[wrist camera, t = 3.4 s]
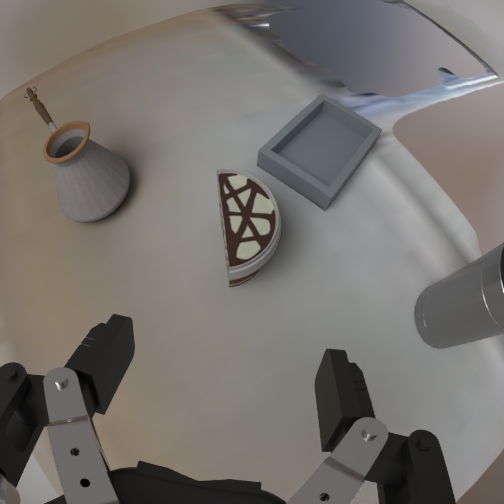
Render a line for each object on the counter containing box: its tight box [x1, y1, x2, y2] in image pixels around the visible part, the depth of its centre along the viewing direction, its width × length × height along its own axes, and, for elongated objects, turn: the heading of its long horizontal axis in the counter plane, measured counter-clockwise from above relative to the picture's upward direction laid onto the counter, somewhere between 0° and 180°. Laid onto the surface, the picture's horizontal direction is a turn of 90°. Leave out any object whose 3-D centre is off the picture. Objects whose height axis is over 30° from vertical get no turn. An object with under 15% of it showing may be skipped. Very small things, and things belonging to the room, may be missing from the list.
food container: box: [217, 168, 282, 287], centre depth 36 cm, size 12×6×10 cm, turn 8°
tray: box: [257, 94, 382, 211], centre depth 45 cm, size 12×18×4 cm, turn 142°
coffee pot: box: [24, 86, 130, 222], centre depth 36 cm, size 21×12×15 cm, turn 46°
